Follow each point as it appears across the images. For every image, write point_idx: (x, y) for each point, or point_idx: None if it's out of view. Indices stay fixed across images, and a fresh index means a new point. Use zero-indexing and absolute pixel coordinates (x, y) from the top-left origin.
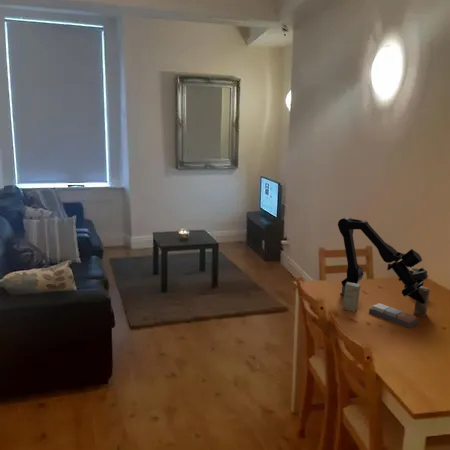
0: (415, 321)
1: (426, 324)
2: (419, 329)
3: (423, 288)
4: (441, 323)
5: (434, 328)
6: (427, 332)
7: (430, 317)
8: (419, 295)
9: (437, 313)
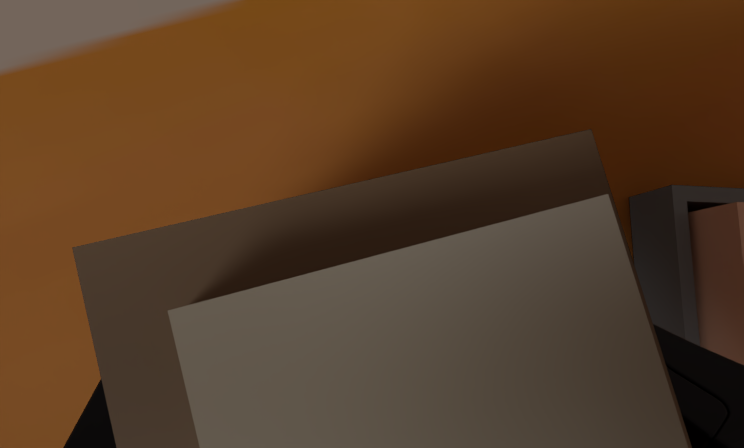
0: (729, 188)
1: (548, 123)
2: (730, 116)
3: (619, 417)
4: (356, 11)
5: (569, 16)
6: (720, 29)
7: (281, 191)
8: (705, 353)
9: (8, 194)
